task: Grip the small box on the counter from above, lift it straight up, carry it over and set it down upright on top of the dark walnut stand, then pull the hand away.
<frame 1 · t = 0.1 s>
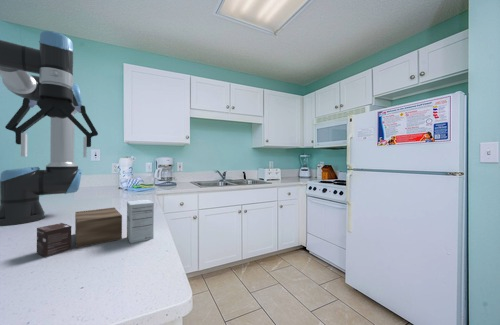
hand: (56, 157, 64), 28 cm above the counter, tool pointing down, fingers open, 13 cm apart
box: (54, 252, 62), on the counter
supplement box: (140, 238, 73), on the counter
walnut stand: (97, 236, 74), on the counter
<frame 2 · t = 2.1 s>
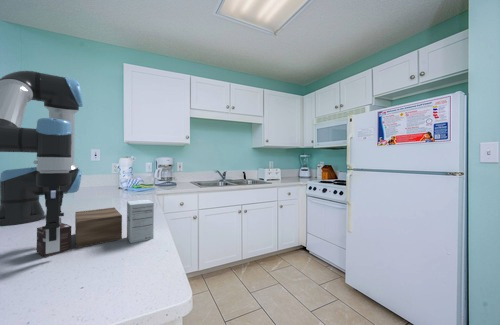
hand: (54, 244, 62), 2 cm above the counter, tool pointing down, fingers open, 13 cm apart
nothing on the counter moved.
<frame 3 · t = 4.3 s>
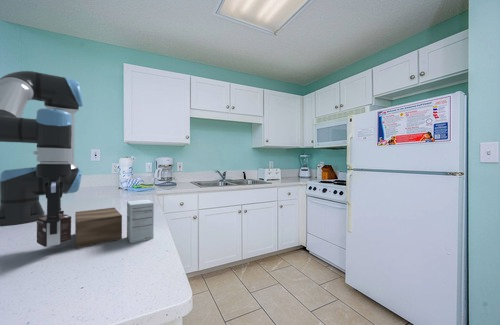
hand: (54, 240, 62), 3 cm above the counter, tool pointing down, fingers closed on box, 8 cm apart
box: (54, 242, 62), point 3 cm above the counter, touching gripper
everything else where it was.
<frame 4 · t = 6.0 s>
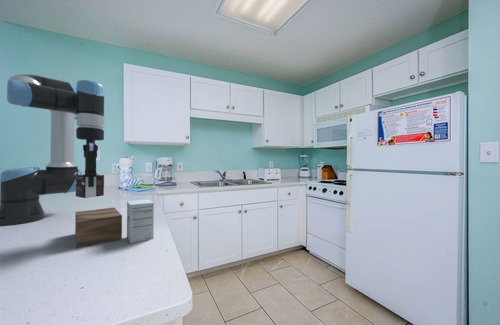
hand: (90, 195, 72), 15 cm above the counter, tool pointing down, fingers closed on box, 8 cm apart
box: (89, 196, 72), point 14 cm above the counter, touching gripper
everything else where it was.
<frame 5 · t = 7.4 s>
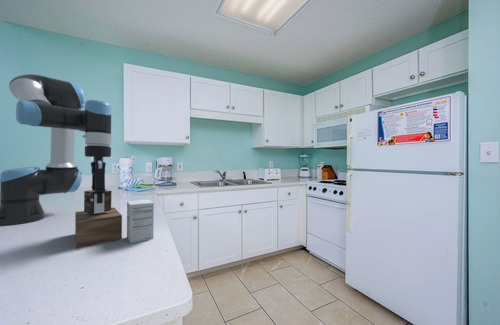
hand: (97, 210, 74), 9 cm above the counter, tool pointing down, fingers closed on box, 8 cm apart
box: (97, 211, 74), point 9 cm above the counter, touching gripper
everything else where it was.
when the fingers open (9 cm above the counter, at t = 8.1 s): box stays where it is, resting on walnut stand.
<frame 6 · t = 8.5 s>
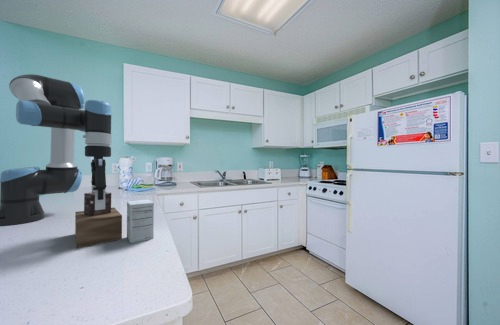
hand: (98, 206, 74), 11 cm above the counter, tool pointing down, fingers open, 13 cm apart
box: (97, 214, 74), point 8 cm above the counter, touching walnut stand
everything else where it was.
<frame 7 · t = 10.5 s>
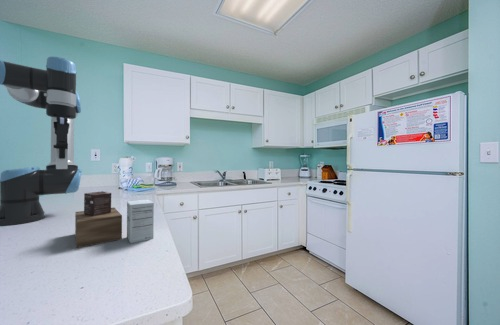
hand: (61, 168, 72), 24 cm above the counter, tool pointing down, fingers open, 13 cm apart
nothing on the counter moved.
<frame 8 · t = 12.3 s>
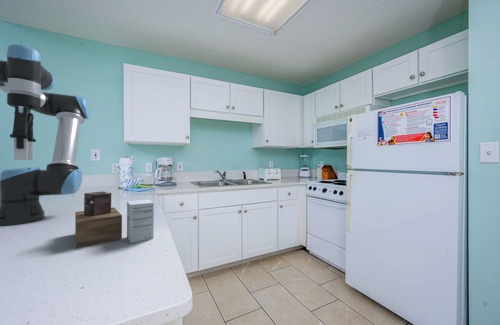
hand: (24, 160, 69), 27 cm above the counter, tool pointing down, fingers open, 13 cm apart
nothing on the counter moved.
at the end: box inside the target area on the walnut stand (0.1 cm from its centre), point 7.8 cm above the walnut stand's base; box tilted 0°; the gripper is holding nothing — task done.
